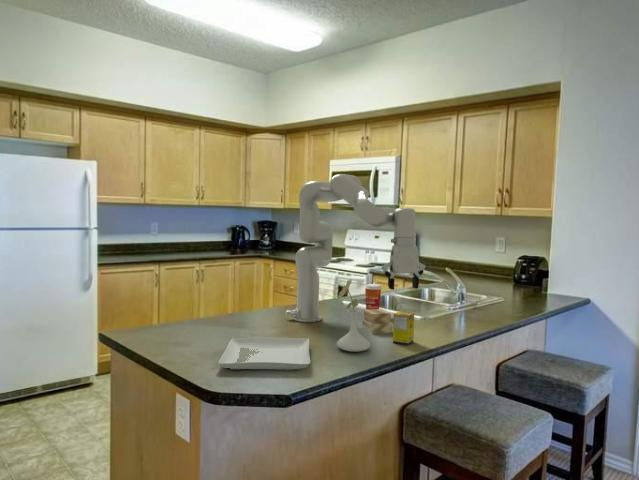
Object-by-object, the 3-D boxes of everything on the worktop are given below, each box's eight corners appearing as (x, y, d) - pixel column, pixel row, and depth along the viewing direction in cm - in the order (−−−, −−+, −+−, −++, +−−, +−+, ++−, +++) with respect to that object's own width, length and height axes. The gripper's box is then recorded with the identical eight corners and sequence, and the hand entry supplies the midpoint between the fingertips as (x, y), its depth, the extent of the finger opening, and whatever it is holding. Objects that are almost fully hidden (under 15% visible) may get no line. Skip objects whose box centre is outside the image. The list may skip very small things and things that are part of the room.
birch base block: (371, 334, 185) (371, 324, 185) (362, 329, 193) (362, 319, 193) (392, 333, 188) (392, 323, 187) (382, 327, 196) (382, 318, 196)
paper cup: (361, 316, 214) (362, 285, 213) (367, 312, 221) (368, 283, 220) (377, 318, 211) (378, 287, 210) (383, 315, 218) (384, 284, 217)
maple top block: (372, 324, 185) (372, 314, 185) (363, 319, 193) (364, 309, 192) (390, 323, 188) (390, 313, 187) (381, 318, 195) (381, 308, 195)
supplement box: (413, 341, 175) (414, 312, 174) (408, 345, 170) (409, 315, 169) (398, 339, 178) (399, 310, 177) (392, 343, 173) (393, 313, 172)
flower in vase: (349, 342, 172) (351, 274, 170) (376, 349, 165) (378, 278, 163) (327, 350, 162) (328, 278, 160) (354, 358, 155) (356, 282, 153)
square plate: (309, 347, 166) (309, 337, 166) (310, 375, 139) (310, 362, 139) (231, 346, 165) (231, 335, 165) (217, 374, 138) (217, 361, 138)
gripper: (387, 243, 167) (386, 291, 168) (430, 242, 172) (429, 289, 173) (378, 241, 174) (377, 287, 175) (420, 241, 179) (419, 286, 180)
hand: (403, 288), depth 174 cm, fingers open, 9 cm apart
